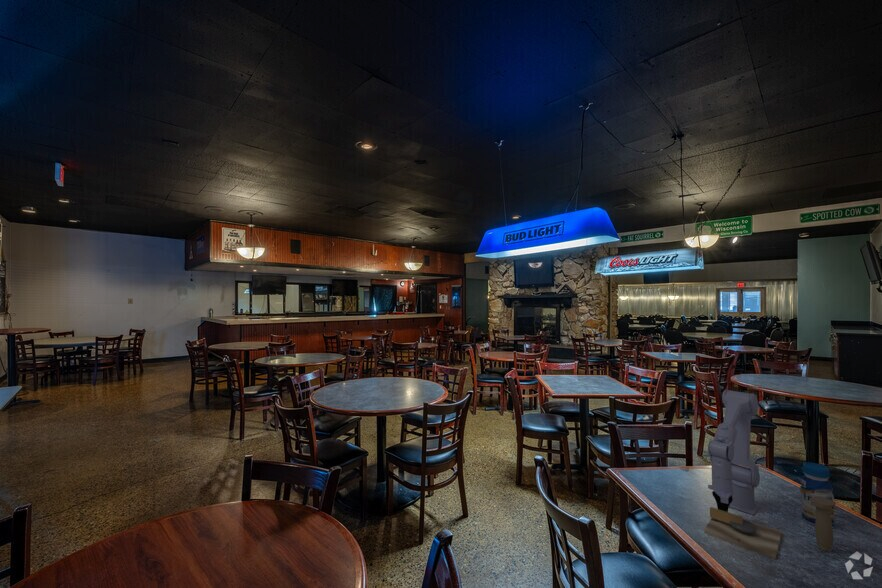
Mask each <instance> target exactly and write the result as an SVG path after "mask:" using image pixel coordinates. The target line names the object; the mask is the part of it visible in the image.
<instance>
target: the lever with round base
mask: <svg viewBox="0 0 882 588" xmlns="http://www.w3.org/2000/svg"><path fill="white" fill-rule="evenodd" d="M709 517H710V518H714V519H717V520H720V521H723V522H726V523H729V524H730V525H731V526H732V527H733V528H735V529H737V530H739V531H742V532H745V533H756V526H755V525H754V524H752V523H751V522H749V521H750V520H749V521H746V520H747V519H746V520H743V519H744V517H743V516H740V515H738V514H734V513H731V512H729V511H728V512H726V511H723V510H719V509H718V508H717V507H713V506H710V507H709Z"/></svg>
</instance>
